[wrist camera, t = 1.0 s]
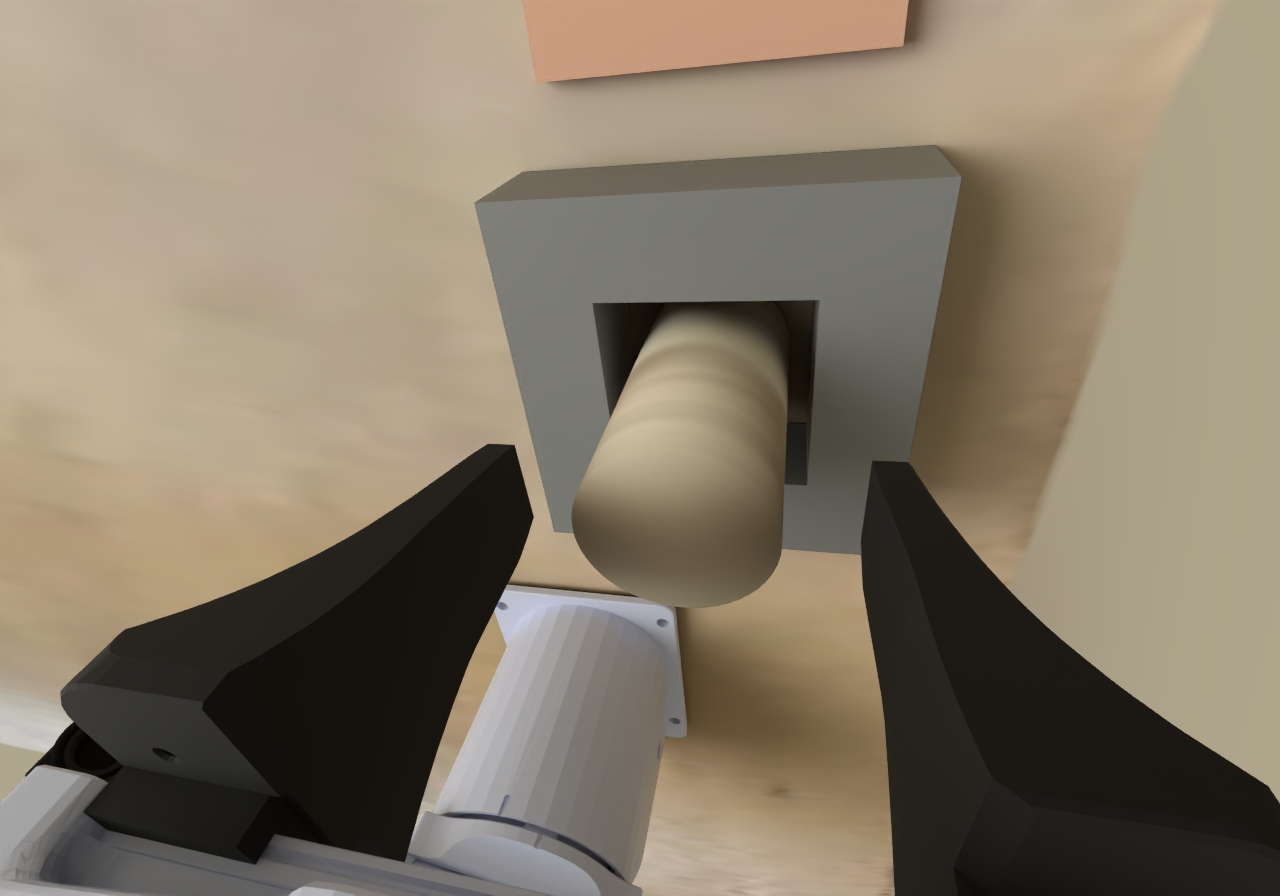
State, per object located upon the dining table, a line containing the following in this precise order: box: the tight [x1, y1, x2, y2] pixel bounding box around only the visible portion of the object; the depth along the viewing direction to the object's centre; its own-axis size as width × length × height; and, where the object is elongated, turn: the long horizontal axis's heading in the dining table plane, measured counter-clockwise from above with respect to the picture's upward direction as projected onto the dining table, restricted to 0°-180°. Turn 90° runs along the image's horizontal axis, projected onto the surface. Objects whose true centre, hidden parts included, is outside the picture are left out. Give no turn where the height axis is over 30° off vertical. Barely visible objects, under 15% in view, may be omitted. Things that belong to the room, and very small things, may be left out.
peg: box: [571, 301, 790, 608], centre depth 15 cm, size 4×4×8 cm
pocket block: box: [474, 145, 962, 555], centre depth 17 cm, size 10×10×3 cm
